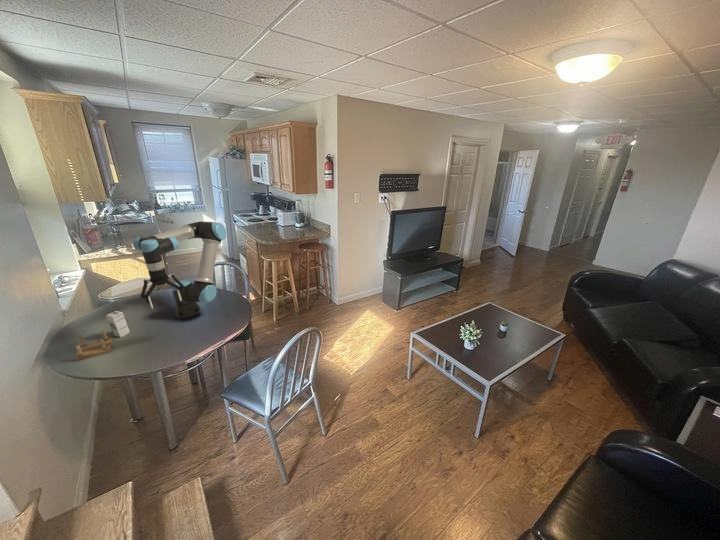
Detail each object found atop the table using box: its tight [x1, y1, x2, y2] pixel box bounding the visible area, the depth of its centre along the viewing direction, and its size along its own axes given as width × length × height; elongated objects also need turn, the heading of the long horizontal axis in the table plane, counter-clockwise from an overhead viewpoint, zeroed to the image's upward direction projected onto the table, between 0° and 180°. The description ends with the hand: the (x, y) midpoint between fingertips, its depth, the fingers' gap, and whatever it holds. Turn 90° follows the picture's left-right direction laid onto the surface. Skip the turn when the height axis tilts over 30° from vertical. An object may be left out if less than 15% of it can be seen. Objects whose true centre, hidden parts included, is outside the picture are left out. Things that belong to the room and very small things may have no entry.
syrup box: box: [105, 310, 130, 338], centre depth 169 cm, size 6×6×14 cm
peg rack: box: [74, 329, 114, 362], centre depth 156 cm, size 12×14×8 cm
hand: (166, 303), depth 160 cm, fingers open, 13 cm apart
